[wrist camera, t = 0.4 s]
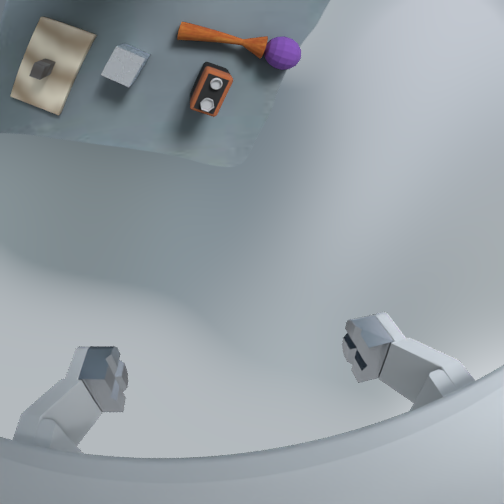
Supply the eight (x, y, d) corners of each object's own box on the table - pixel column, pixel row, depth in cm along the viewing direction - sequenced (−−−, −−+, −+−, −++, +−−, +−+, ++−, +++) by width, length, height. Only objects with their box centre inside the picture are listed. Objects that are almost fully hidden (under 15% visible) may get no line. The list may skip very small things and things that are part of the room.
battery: (189, 94, 47) (188, 111, 40) (204, 60, 43) (206, 69, 36) (212, 102, 49) (216, 120, 42) (228, 69, 45) (235, 80, 38)
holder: (43, 16, 29) (28, 18, 25) (96, 35, 36) (86, 37, 32) (13, 94, 37) (-2, 104, 33) (61, 113, 43) (49, 124, 39)
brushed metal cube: (124, 42, 38) (116, 46, 34) (150, 54, 41) (145, 58, 36) (110, 68, 41) (100, 75, 36) (135, 79, 43) (128, 87, 39)
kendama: (183, 10, 34) (309, 41, 39) (185, 18, 39) (298, 44, 44) (173, 45, 37) (299, 73, 42) (176, 48, 42) (290, 73, 47)
